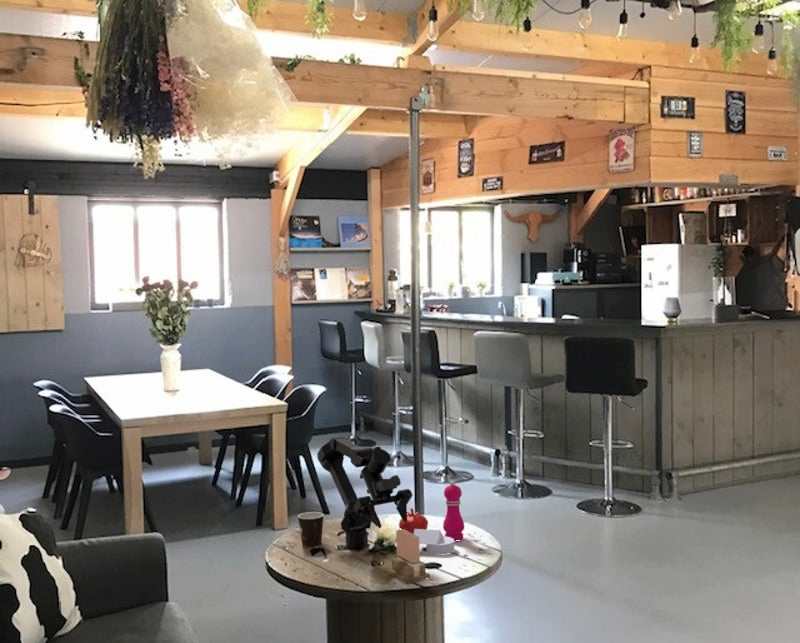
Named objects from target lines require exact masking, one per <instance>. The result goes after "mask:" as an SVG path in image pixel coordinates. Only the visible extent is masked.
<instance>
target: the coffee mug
mask: <svg viewBox="0 0 800 643" xmlns="http://www.w3.org/2000/svg"><path fill="white" fill-rule="evenodd" d="M297 520H298V524H299V532H300V538H301V544H302V545H303V546H306V547H305V548H308V547H312V548H317V547H316V546H318V547H320V546H321V545H322V538H323V526H324V513H322V512H319V511H307V512H302V513H300V514H298V515H297ZM303 546H302V547H303Z"/></svg>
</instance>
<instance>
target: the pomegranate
mask: <svg viewBox="0 0 800 643" xmlns="http://www.w3.org/2000/svg"><path fill="white" fill-rule="evenodd" d="M409 510H410V512H408V511H407V523H405V522H404V521H403V519H402V517H401V519H400V520H399V522H398V525H399V526H398V527H399V529H400V528H401V529H404V530H406V531H408V532H410V533H412V534H414V530H415V529H426V530H428V523H429V522H428V519H427V518H426V516H424V515H423V514H422V513H419V511H417V512H415V513H414V508H412V507H411V508H410V509H409Z"/></svg>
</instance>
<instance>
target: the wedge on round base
mask: <svg viewBox="0 0 800 643" xmlns="http://www.w3.org/2000/svg"><path fill="white" fill-rule="evenodd" d="M414 534H415V535H417V536H419V545H426V553H428V552H429V553H428V554H430V553H432V554H431V555H434V554H446V555H448V554H447V553H450V554H452V553H451V552H453V551H454V552H455V542H454V539H453V538H450V537H446V536H445V535H443V534H442V532H441V529H427V530H426V529H415V530H414ZM454 552H453V553H454Z"/></svg>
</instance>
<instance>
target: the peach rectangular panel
mask: <svg viewBox="0 0 800 643" xmlns="http://www.w3.org/2000/svg"><path fill="white" fill-rule="evenodd" d="M395 532H396V533H395V534H396V556H397V555H398V556H400V557H402V558H404V559H405V560H407V561H409V562H411V563H416V562H420V560H421V558H420V544H419V536H417V535H415V534H412V533H410V532H408V531H406V530H404V529H402V530H400V529H396V530H395Z"/></svg>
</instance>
